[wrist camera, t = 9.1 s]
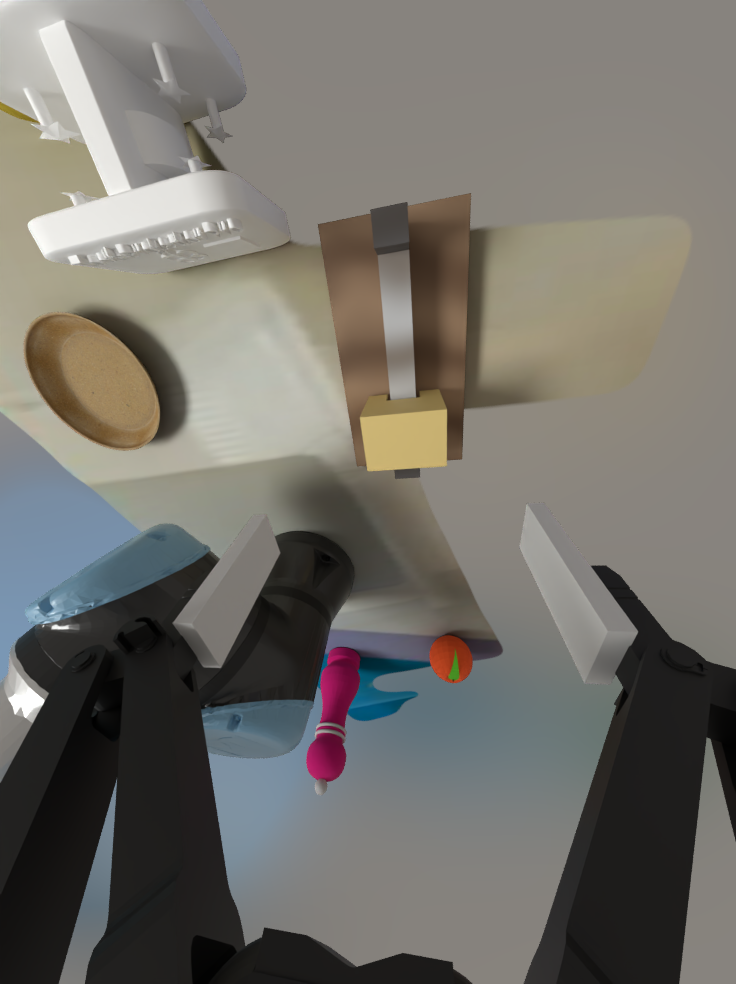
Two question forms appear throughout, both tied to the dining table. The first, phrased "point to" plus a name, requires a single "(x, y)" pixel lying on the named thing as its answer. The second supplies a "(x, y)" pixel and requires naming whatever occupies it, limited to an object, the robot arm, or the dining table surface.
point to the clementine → (451, 659)
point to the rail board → (428, 309)
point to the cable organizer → (135, 130)
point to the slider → (405, 432)
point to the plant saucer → (92, 381)
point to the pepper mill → (333, 717)
